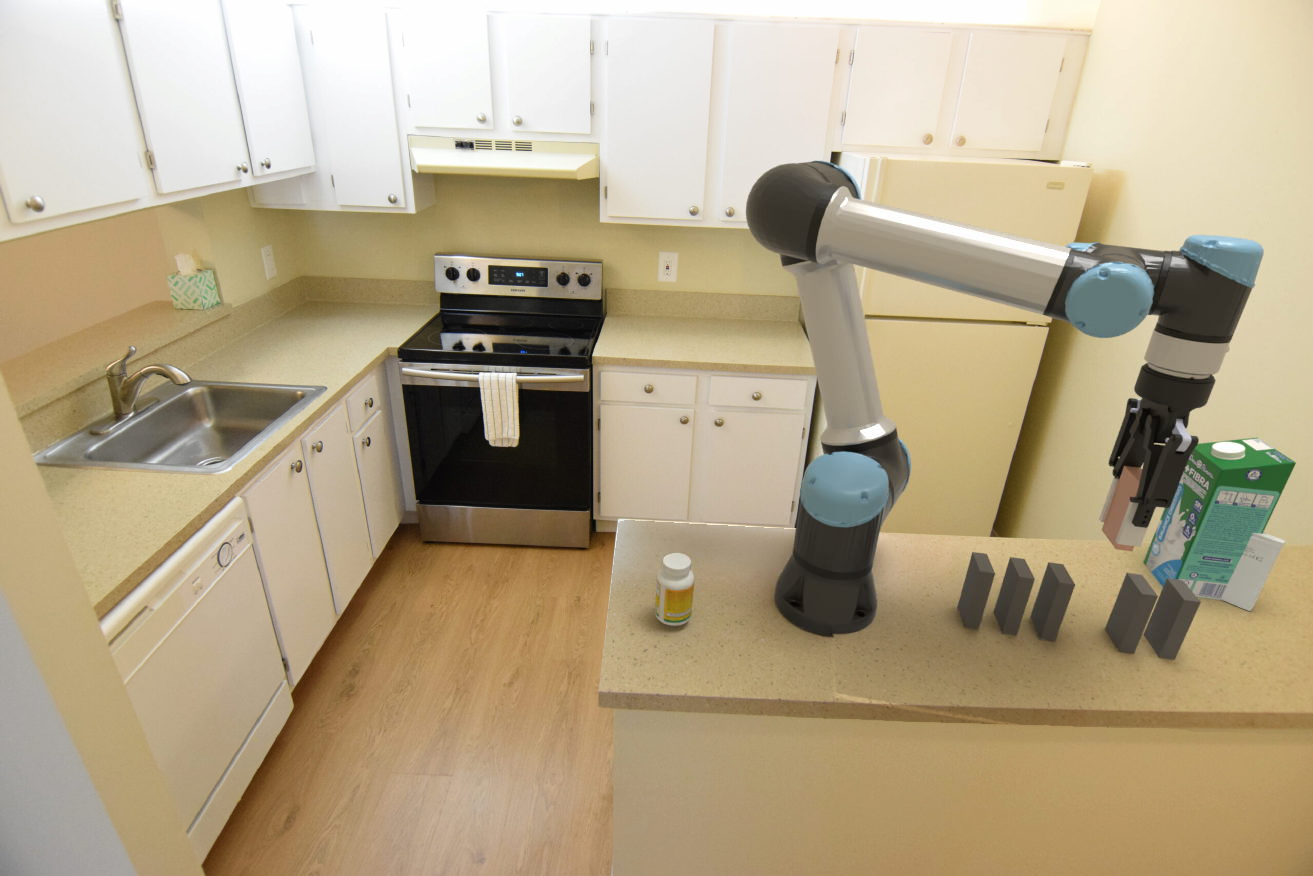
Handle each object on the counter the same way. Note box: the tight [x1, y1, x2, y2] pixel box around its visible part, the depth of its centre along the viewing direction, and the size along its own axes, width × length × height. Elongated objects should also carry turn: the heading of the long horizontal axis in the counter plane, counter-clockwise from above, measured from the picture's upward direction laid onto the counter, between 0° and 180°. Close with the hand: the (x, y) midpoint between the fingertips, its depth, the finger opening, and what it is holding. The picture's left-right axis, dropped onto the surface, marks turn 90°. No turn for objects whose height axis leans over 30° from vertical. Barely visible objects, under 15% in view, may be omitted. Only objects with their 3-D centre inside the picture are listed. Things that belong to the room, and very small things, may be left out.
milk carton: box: [1142, 437, 1297, 601], centre depth 108 cm, size 9×9×25 cm
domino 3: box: [1029, 561, 1076, 643], centre depth 99 cm, size 2×5×10 cm, turn 169°
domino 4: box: [1101, 466, 1143, 552], centre depth 92 cm, size 2×5×10 cm, turn 169°
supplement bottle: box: [654, 552, 695, 627], centre depth 99 cm, size 5×5×10 cm
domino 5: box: [1104, 572, 1159, 655], centre depth 98 cm, size 2×5×10 cm, turn 169°
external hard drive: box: [1220, 532, 1286, 612], centre depth 107 cm, size 2×8×12 cm, turn 39°
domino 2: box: [993, 556, 1036, 637], centre depth 100 cm, size 2×5×10 cm, turn 169°
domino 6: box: [1143, 578, 1202, 661], centre depth 97 cm, size 2×5×10 cm, turn 169°
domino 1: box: [957, 551, 996, 631], centre depth 101 cm, size 2×5×10 cm, turn 169°
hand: (1119, 532), depth 93 cm, fingers closed on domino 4, 5 cm apart
